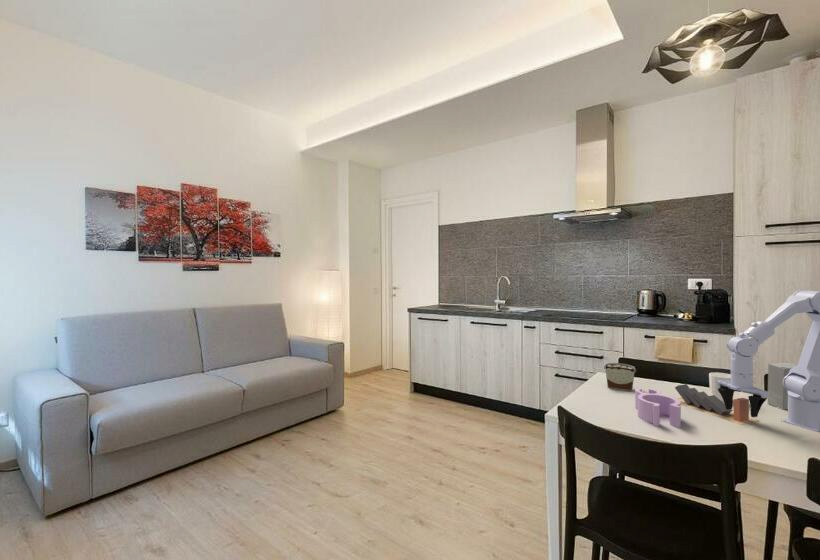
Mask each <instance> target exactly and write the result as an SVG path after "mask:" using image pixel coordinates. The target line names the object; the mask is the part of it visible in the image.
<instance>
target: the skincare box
mask: <svg viewBox="0 0 820 560" xmlns="http://www.w3.org/2000/svg"><path fill="white" fill-rule="evenodd" d="M797 365H798V364H796V363H792V362H779V363H777V362H776V363H768V365H767V366H768V367H767V368H768V369H767V371H768V372H767V391H768V392H769V398H767V404H768V405H769V404H771V405H770V406H772V405H773V407H775V406H776V407H775V408H777V407H779V408H778V409H780V408H782V409H781V410H783V409H787V410H788V393H787V390H786V389H785V388H784V386H783V379H784V377H785V376H786V375H788V373H789V371H790V369H792V368H793V367H795V366H797Z"/></svg>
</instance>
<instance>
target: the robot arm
mask: <svg viewBox="0 0 820 560" xmlns="http://www.w3.org/2000/svg"><path fill="white" fill-rule="evenodd" d="M803 313H804V314H806V315H808V317H809V318H810V319H811V320H812V322H811V325H810V328H809V331H808V334H807V337H806V339H805V342H804V345H803V348H802V351H801V354H800V356H799V360H798V361H797V364H796V365H797V366H795V367H793V368H792V369H790V371H789V373H788V375H786V376H785V377H784V379H783V386H784V388H785V389H786V390H787V393H788V409H787V418H781V419H780V421H781V422H783V423H787V424H790V425H794V426H797V427H800V428H804V429H806V430H811V431H814V432H817V433H818V432H820V290H809V289H799V290H796V291H795V292H794V293H793V294H791V295H789V296H788V297H787V299H786V300H785V301H784V303H783V304H781V305H780V307H778V308H777V309H776V310H775V311H773V313H772V314H771V315H769V316H768V317H767V318H766V319H765V320H764V321H763V320H759V321H756V322H753V321H752V322H751V323H750V324H749V325H750V326H749V327H748V328H746V329H745V330H744V331H743V332H740V333H738V336H737V335H736V336H733V337H731V338H730V339H729V340H728V343H726V349H727V350H729V352H730V375H731V382H729V381H723V380H717V386H720V388H718V391H719V393H720V394H721V396H722V398H723V400H724V402H723V403H724V404H725V407H726V409H728V410H729V409H732V410H733V407H734V395H733V394H734V393H735V391H737V392H738V391H739V392H741V393H746V394H749V395H748V396H747V399H749V408H750V418H757V417H758V415H759V412H760V410H761V408H762V406H763V404H764V403H765V402H766V401H767V400H768V398H769V392H768V390H763V389H761V388H759V387H755V386H754V382H753V381H754V380H753V379H754V376H753V375H754V359H753V358H754V355H755V354H757V353H758V350H759V347H760V345H762V344H763V343H764V342H766V341H767V340H768V339H770V338H771V337H772V336H774V335H775V333H776V332H775V329H776V328H777V327H779V326H780V325H782V324H784V323H785V322H786V321H787V320H789V319H791V318H792V317H794V316H795V315H797V314H803Z"/></svg>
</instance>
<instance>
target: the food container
mask: <svg viewBox="0 0 820 560" xmlns="http://www.w3.org/2000/svg"><path fill="white" fill-rule="evenodd" d="M635 367H636V366H633V365H631V364H627V363H619V362H608V363H606V364H605V365H604V368H603V370H605V376H606V377H605V378H606V385H607V388H608V389H614V388H616V389H615V390H621V389H624V390H623V391H629V390H631V392H633V389H634V379H635V373H637V369H636V368H635Z"/></svg>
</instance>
